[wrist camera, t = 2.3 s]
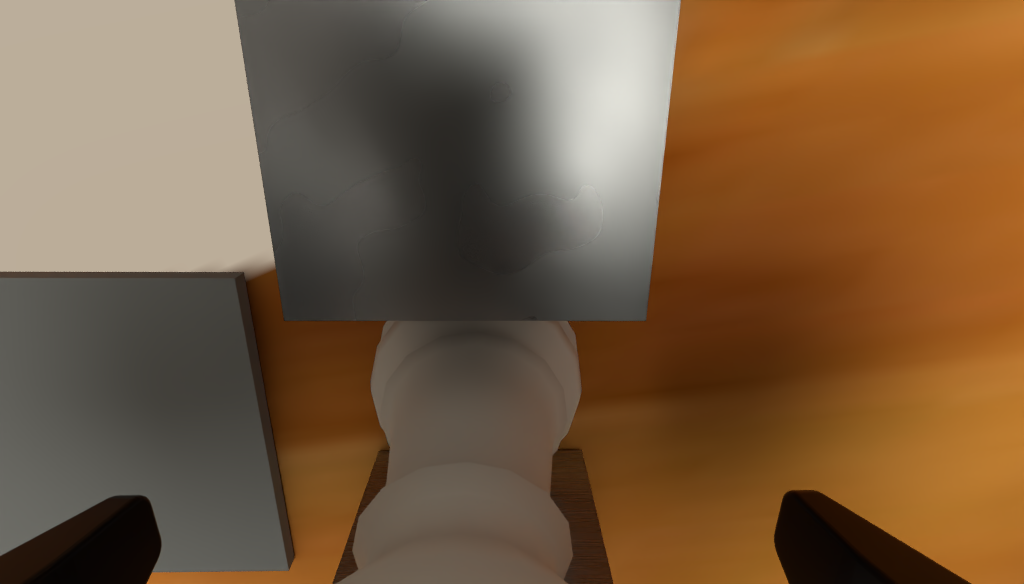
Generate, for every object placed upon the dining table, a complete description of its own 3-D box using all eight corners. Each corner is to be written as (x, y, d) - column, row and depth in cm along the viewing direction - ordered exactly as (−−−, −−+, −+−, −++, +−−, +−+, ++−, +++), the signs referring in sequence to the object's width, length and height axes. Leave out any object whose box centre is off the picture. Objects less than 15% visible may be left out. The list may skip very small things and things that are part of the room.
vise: (570, 613, 15) (595, 789, 11) (394, 616, 14) (357, 795, 11) (609, 38, 10) (681, -6, 6) (339, 34, 9) (233, -12, 6)
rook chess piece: (523, 461, 13) (557, 967, 5) (353, 396, 12) (112, 876, 5) (611, 312, 11) (824, 704, 4) (426, 227, 11) (255, 516, 3)
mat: (294, 557, 14) (288, 570, 13) (-13, 561, 13) (-28, 574, 13) (243, 272, 11) (234, 278, 11) (-143, 271, 11) (-167, 277, 10)
